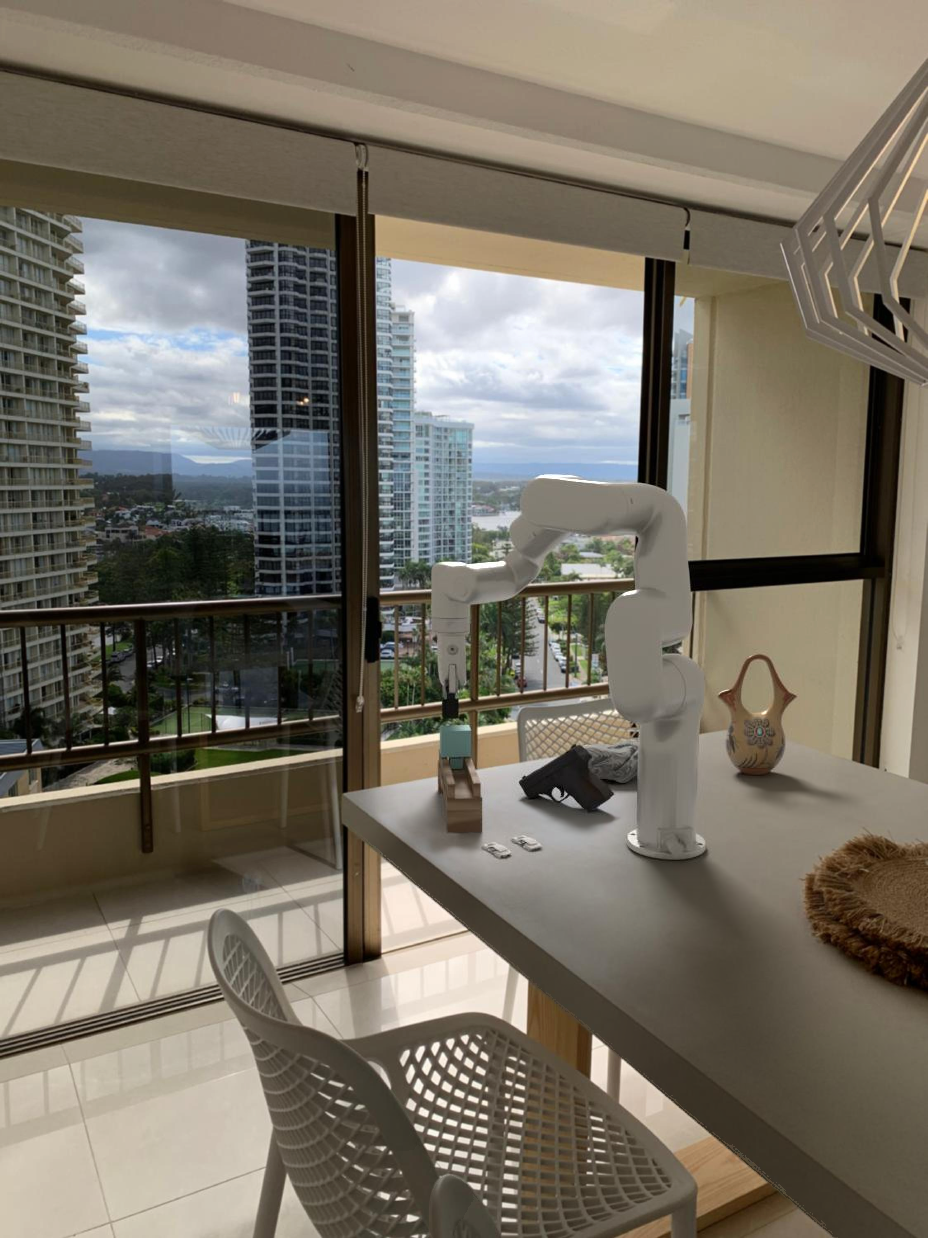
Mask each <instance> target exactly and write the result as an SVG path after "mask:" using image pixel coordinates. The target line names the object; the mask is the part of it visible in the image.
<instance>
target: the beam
mask: <svg viewBox="0 0 928 1238" xmlns="http://www.w3.org/2000/svg"><path fill="white" fill-rule="evenodd" d="M462 758H463V769H451V768H450V765H449V757H441V754H440V748H438V759H437V792H438V795H441V796H442V795H443V799H444V803H445V828H446V829H445V830H446V833H447V834H454V833H455V834H457V833H459V834H460V833H480V832H481V833H482V832H483V796H482V793H481V791H482V783H481V781H480V777H479V775H478V772H477V770H476V767H475V765H474V761H473V760H472V756H471V757H462Z"/></svg>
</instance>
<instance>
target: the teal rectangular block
mask: <svg viewBox="0 0 928 1238" xmlns="http://www.w3.org/2000/svg"><path fill="white" fill-rule="evenodd" d="M439 749H440V754H441V757H447V758H448V760H449V765H450V768H451V769H463V758H462V757H471V758H472V729H471V727H470V724H458V725H457V724H453V725H452V724H450V725H439Z"/></svg>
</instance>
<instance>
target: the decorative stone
mask: <svg viewBox="0 0 928 1238" xmlns="http://www.w3.org/2000/svg"><path fill="white" fill-rule="evenodd" d="M581 746H582V747H584V748H585V749H586V750H587V751H588V752H589V753H590V754H591V755H592V757H593V758H591V759H590V760H589V763H588V767H589V769H590V771H591V772H592V773H593V774H594V775H596V776H597V777H598V778H599V779H600V780H610V781H611V780H613V781H615V782H617V783H619V784H625V783H628V782H629V781H631V780H632V779H633V778H635V777H638V741H637V740H634V739H630V738H629V739H626V740H624V741H618V742H615V743H614V744H603V743H600V744H587V745H586V744H585V745H581ZM589 753H588V754H589Z"/></svg>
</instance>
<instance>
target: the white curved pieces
mask: <svg viewBox="0 0 928 1238" xmlns="http://www.w3.org/2000/svg"><path fill="white" fill-rule="evenodd" d="M510 841H511V842H513V843H515V844H519V843H525V844H524V845H523V846H522V847H523V849H525V850H527V851H534V850H538V849H541V848H542V847H543V845H542V844H541V843H539V842H538V841H537V840H536V839H535V838H533V837H528V836H526V835H524V834H523V835H519V836H514V837H511V839H510ZM481 849H482V850H485V851H489V850H493V851H490V853H491V854H493V855H494V856H495V857H496V858H498V859H500V858H502V857H504V858H505V857H508V856H511V855H512V851H511V850H510V849H508V848H507V847H506V846H505V845H504V844H503V845H502V844H499V843H497V842H496V841H492V842H488V843H485V844H482V845H481Z"/></svg>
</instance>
